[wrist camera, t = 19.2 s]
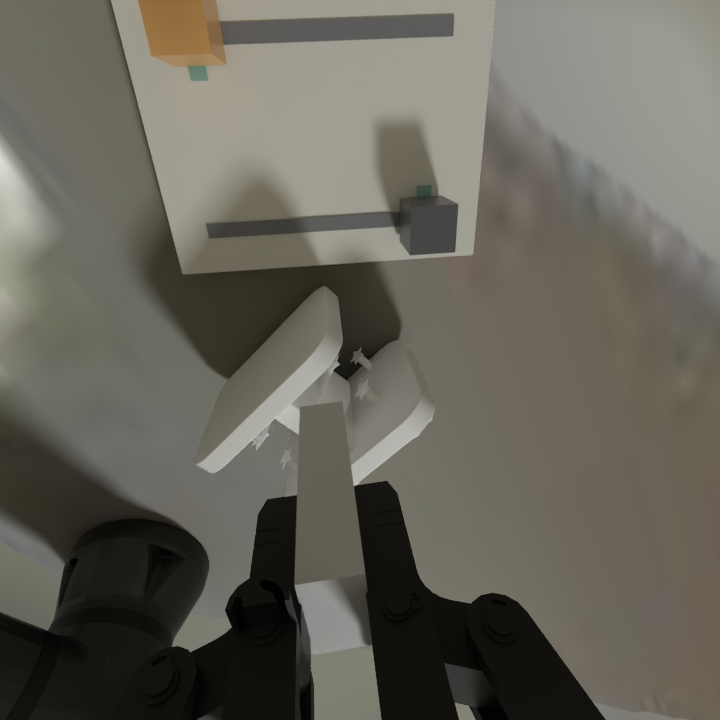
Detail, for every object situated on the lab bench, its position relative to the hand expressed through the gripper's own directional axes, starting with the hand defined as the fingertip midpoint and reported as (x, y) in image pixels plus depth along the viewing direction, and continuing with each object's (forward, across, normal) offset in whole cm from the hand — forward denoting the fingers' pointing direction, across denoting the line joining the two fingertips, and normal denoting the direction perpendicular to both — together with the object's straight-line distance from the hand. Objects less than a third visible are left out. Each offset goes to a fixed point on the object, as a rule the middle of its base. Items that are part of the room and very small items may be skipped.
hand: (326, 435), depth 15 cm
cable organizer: (+22, +1, +9) cm, 24 cm away
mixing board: (+21, -2, -10) cm, 24 cm away
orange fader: (+19, +5, -15) cm, 25 cm away
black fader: (+18, -8, -4) cm, 20 cm away
